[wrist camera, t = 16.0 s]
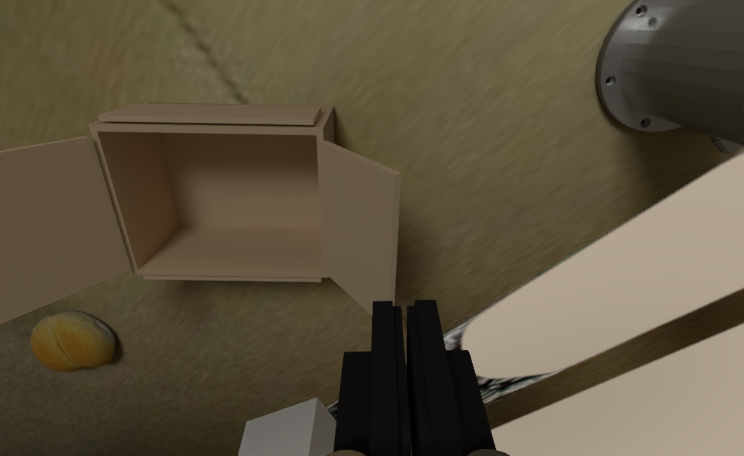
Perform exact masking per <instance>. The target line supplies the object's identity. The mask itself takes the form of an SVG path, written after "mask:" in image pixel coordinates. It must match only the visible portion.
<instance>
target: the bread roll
mask: <svg viewBox="0 0 744 456" xmlns="http://www.w3.org/2000/svg"><path fill="white" fill-rule="evenodd" d="M31 347H32V351H33V353H34V355H35V356H36V358H37V359H38V361H39V362H40V363H42V364H43V365H44V366H46V367H47V368H50V369H53V370H56V371H60V372H75V371H78V370H81V369H83V368H85V367H91V368H94V367H100V366H103V365H105V364H106V363H108V362H109V361H110V360H111V359H112V357H113V355H114V352H115V335H114V334H113V332H112V330H111V329H110V328H109V327H108V326H107V325H106V324H104V323H103V322H102V321H100V320H98V319H96V318H94V317H92V316H90V315H88V314H85V313H83V312H76V311H66V312H61V313H58V314H55V315H50V316H47V317H45V318H43V319H42V320H41V321H40V322H38V324H37V325H36V326H35V327H34V329H33V331H32V335H31Z"/></svg>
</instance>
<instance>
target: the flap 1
mask: <svg viewBox="0 0 744 456" xmlns="http://www.w3.org/2000/svg"><path fill="white" fill-rule="evenodd" d="M127 271H129V268H128V264H127V261H126V258H125V254H124V251H123V248H122V245H121V241H120V238H119V235H118V231H117V228H116V225H115V222H114V218H113V215H112V212H111V209H110V205H109V202H108V199H107V195H106V192H105V189H104V186H103V182H102V179H101V176H100V172H99V169H98V166H97V163H96V159H95V156H94V153H93V150H92V146H91V143H90V140H89V137H87V136H84V137H78V138H72V139H66V140H60V141H54V142H48V143H42V144H37V145H31V146H25V147H19V148H13V149H7V150H1V151H0V322H1V324H2V323H5V322H7V321H10V320H12V319H14V318H17V317H19V316H22V315H24V314H26V313H29V312H31V311H34V310H36V309H38V308H41V307H43V306H46V305H48V304H50V303H53V302H55V301H58V300H60V299H62V298H65V297H67V296H70V295H72V294H74V293H77V292H79V291H82V290H84V289H86V288H89V287H91V286H94V285H96V284H98V283H101V282H103V281H106V280H108V279H110V278H113V277H115V276H118V275H120V274H122V273H125V272H127Z"/></svg>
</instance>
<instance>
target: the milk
mask: <svg viewBox="0 0 744 456" xmlns="http://www.w3.org/2000/svg"><path fill="white" fill-rule="evenodd" d="M335 430H336V421H335V420H334V418H333V417H332V416H331V414H330V413H329V412H328V411H327V409H326V408H325V407H324V405H323V404H322V403H321V401H320V400H319V399H318V398H314V399H311V400H309V401H306V402H303V403H300V404H297V405H294V406H291V407H288V408H285V409H282V410H280V411H277V412H274V413H271V414H268V415H265V416H262V417H259V418H256V419H253V420H251V421H248V422H247V423H246V426H245V430H244V434H243V438H242V442H241V446H240V450H239V454H238V456H327V455H328V454H330V453H333V448H334V439H335Z"/></svg>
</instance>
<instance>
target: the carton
mask: <svg viewBox="0 0 744 456" xmlns="http://www.w3.org/2000/svg"><path fill="white" fill-rule="evenodd" d="M97 117H98V121H96V122H93V123H91V124H88V126H89V129H90V132H91V136H92V139H93V142H94V146H95V149H96V152H97V156H98V159H99V162H100V166H101V169H102V172H103V175H104V179H105V182H106V185H107V189H108V192H109V195H110V199H111V202H112V205H113V209H114V212H115V215H116V219H117V222H118V225H119V229H120V232H121V235H122V239H123V242H124V245H125V248H126V252H127V255H128V258H129V262H130V265H131V268H132V272H133V275H143V276H144V279H149V280H216V281H283V282H321V281H322V278H329V276H328V275H327V274H326V265H325V241H324V217H323V193H322V169H321V145H320V141H329V142H331V143H333V144H335V138H334V106H300V105H245V104H190V103H148V104H138V103H134V104H131V105H128V106H125V107H121V108H118V109H115V110H112V111H109V112H106V113H103V114H100V115H97Z"/></svg>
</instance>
